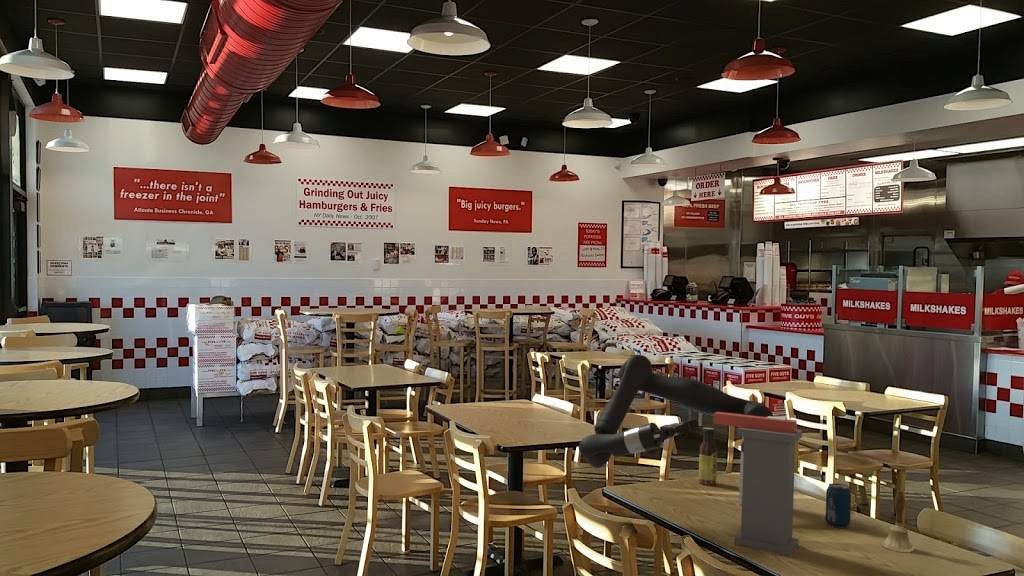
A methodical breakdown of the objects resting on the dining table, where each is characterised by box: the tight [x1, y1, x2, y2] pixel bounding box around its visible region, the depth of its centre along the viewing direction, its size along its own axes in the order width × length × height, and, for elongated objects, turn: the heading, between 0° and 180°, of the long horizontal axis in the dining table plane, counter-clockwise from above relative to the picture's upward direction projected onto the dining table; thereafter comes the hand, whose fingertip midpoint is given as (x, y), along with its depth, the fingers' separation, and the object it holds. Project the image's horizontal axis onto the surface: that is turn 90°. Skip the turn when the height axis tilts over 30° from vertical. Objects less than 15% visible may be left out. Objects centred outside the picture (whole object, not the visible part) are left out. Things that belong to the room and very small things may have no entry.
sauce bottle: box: [698, 427, 718, 486], centre depth 291 cm, size 6×6×20 cm
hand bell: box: [881, 489, 913, 550], centre depth 225 cm, size 8×8×16 cm
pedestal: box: [733, 427, 803, 556], centre depth 224 cm, size 15×10×32 cm, turn 59°
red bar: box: [712, 412, 798, 433], centre depth 226 cm, size 22×4×3 cm, turn 59°
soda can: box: [824, 483, 852, 529], centre depth 244 cm, size 7×7×12 cm
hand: (693, 424), depth 234 cm, fingers open, 8 cm apart
